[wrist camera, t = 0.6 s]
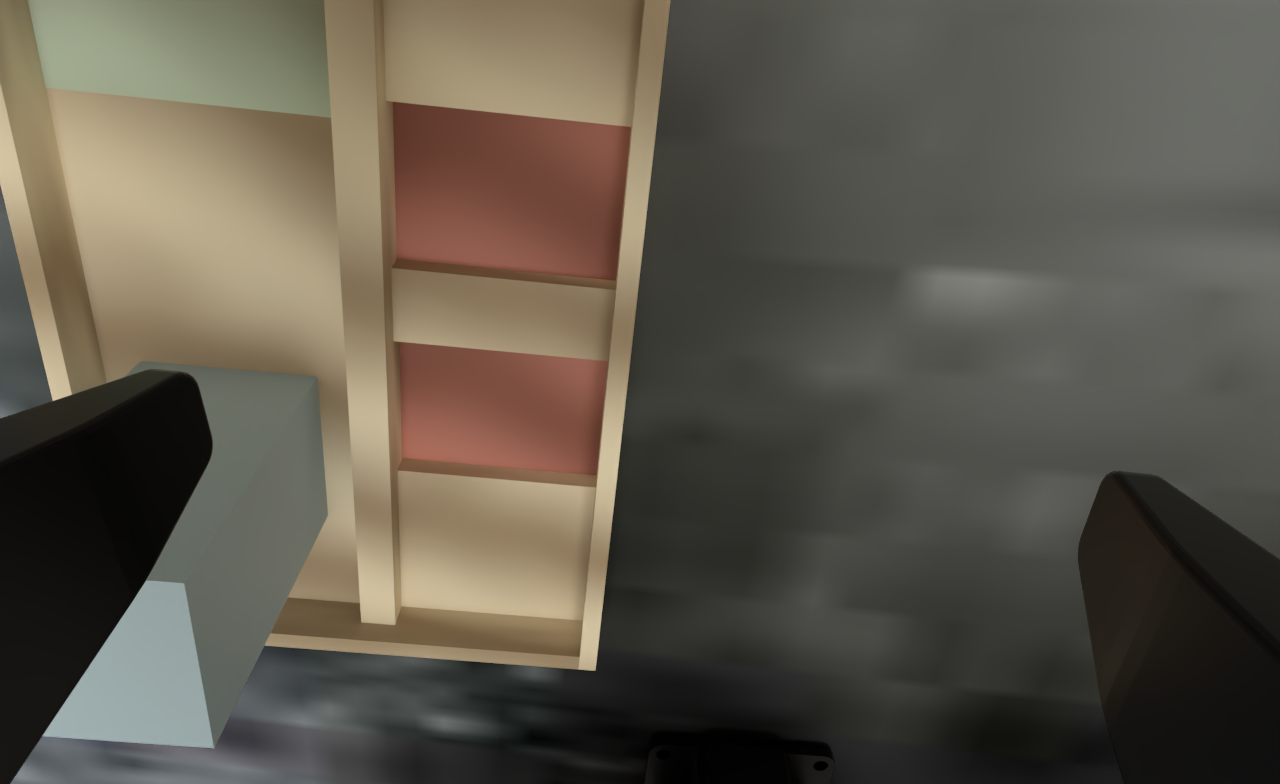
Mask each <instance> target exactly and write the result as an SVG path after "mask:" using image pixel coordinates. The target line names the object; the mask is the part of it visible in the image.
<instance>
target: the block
mask: <svg viewBox="0 0 1280 784" xmlns="http://www.w3.org/2000/svg"><path fill="white" fill-rule="evenodd" d="M147 369H163V370H173V371H182V372H187V373H189V374H190V375H192V376H193V377H194V378H195V380H196V381H197V383H198V385H199V388H200V392H201V396H202V400H203V404H204V407H205V411H206V415H207V419H208V422H209V426H210V430H211V434H212V439H213V450H212V455H211V459H210V461H209V464H208V466H207V468H206V470H205V471H204V473H203V475H202V477H201V479H200V481H199V483H198V485H197V487H196V488H195V490H194V492H193V494H192V496H191V498H190V500H189V502H188V504H187V506H186V507H185V509H184V511H183V513H182V515H181V517H180V519H179V521H178V523H177V524H176V526H175V528H174V530H173V532H172V534H171V536H170V538H169V540H168V542H167V543H166V545H165V547H164V549H163V551H162V553H161V555H160V557H159V559H158V560H157V562H156V564H155V566H154V567H153V569H152V571H151V573H150V574H149V576H148V578H147V580H146V581H145V583H144V585H143V586H142V588H141V589H140V591H139V592H138V594H137V596H136V597H135V599H134V600H133V602H132V603H131V605H130V606H129V608H128V609H127V611H126V612H125V614H124V615H123V617H122V618H121V620H120V621H119V623H118V624H117V626H116V627H115V629H114V630H113V632H112V633H111V635H110V636H109V638H108V639H107V641H106V642H105V644H104V645H103V646H102V648H101V649H100V651H99V652H98V654H97V655H96V657H95V658H94V660H93V661H92V663H91V664H90V666H89V667H88V669H87V670H86V672H85V673H84V675H83V676H82V678H81V679H80V681H79V682H78V684H77V685H76V687H75V688H74V690H73V691H72V693H71V694H70V696H69V697H68V699H67V700H66V702H65V703H64V704H63V706H62V707H61V709H60V710H59V712H58V713H57V715H56V716H55V718H54V719H53V721H52V722H51V724H50V725H49V727H48V728H47V730H46V731H45V733H44V734H43V736H48V737H62V738H77V739H91V740H105V741H119V742H133V743H148V744H162V745H176V746H190V747H204V748H214V747H215V745H216V743H217V741H218V739H219V737H220V735H221V733H222V731H223V729H224V727H225V725H226V723H227V721H228V719H229V717H230V715H231V713H232V711H233V709H234V706H235V704H236V702H237V700H238V698H239V696H240V694H241V692H242V690H243V688H244V686H245V684H246V682H247V680H248V678H249V676H250V674H251V672H252V670H253V668H254V666H255V664H256V661H257V659H258V657H259V655H260V653H261V651H262V649H263V647H264V645H265V643H266V641H267V639H268V637H269V635H270V633H271V631H272V629H273V627H274V625H275V623H276V621H277V619H278V616H279V614H280V612H281V610H282V608H283V606H284V604H285V602H286V600H287V598H288V596H289V594H290V592H291V590H292V588H293V586H294V584H295V582H296V580H297V578H298V576H299V574H300V572H301V569H302V567H303V565H304V563H305V561H306V559H307V557H308V555H309V553H310V551H311V549H312V547H313V545H314V543H315V541H316V539H317V537H318V535H319V533H320V531H321V529H322V527H323V524H324V522H325V520H326V518H327V516H328V507H327V494H326V481H325V468H324V455H323V442H322V429H321V416H320V403H319V391H318V378H317V377H314V376H303V375H292V374H281V373H270V372H259V371H248V370H237V369H226V368H215V367H204V366H193V365H182V364H171V363H160V362H149V361H140V362H139V363H138V364H137V365H136V366H135V367H134V368H133V369H132V370H131V371H130V372H129V373H128V374H127V375H126V376H129V375H132V374H135V373H138V372H141V371H144V370H147ZM126 376H125V377H126Z"/></svg>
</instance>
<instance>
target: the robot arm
mask: <svg viewBox="0 0 1280 784" xmlns="http://www.w3.org/2000/svg"><path fill="white" fill-rule="evenodd" d="M212 450H213V439H212V434H211V430H210V426H209V422H208V419H207V415H206V411H205V407H204V404H203V400H202V396H201V392H200V388H199V385H198V383H197V381H196V380H195V378H194V377H193V376H192V375H190V374H189V373H187V372H182V371H173V370H163V369H147V370H144V371H141V372H138V373H135V374H132V375H129V376H126V377H123V378H120V379H117V380H114V381H111V382H108V383H105V384H102V385H99V386H96V387H93V388H90V389H87V390H84V391H81V392H78V393H75V394H72V395H69V396H66V397H63V398H60V399H57V400H54V401H51V402H48V403H45V404H42V405H39V406H36V407H34V408H31V409H28V410H25V411H22V412H19V413H16V414H13V415H10V416H7V417H4V418H1V419H0V784H10V783H11V782H12V780H13V779H14V777H15V776H16V774H17V773H18V771H19V770H20V768H21V767H22V765H23V764H24V763H25V761H26V760H27V758H28V757H29V755H30V754H31V752H32V751H33V749H34V748H35V746H36V745H37V743H38V742H39V740H40V739H41V737H42V736H43V734H44V733H45V731H46V730H47V728H48V727H49V725H50V724H51V722H52V721H53V719H54V718H55V716H56V715H57V713H58V712H59V710H60V709H61V707H62V706H63V704H64V703H65V702H66V700H67V699H68V697H69V696H70V694H71V693H72V691H73V690H74V688H75V687H76V685H77V684H78V682H79V681H80V679H81V678H82V676H83V675H84V673H85V672H86V670H87V669H88V667H89V666H90V664H91V663H92V661H93V660H94V658H95V657H96V655H97V654H98V652H99V651H100V649H101V648H102V646H103V645H104V644H105V642H106V641H107V639H108V638H109V636H110V635H111V633H112V632H113V630H114V629H115V627H116V626H117V624H118V623H119V621H120V620H121V618H122V617H123V615H124V614H125V612H126V611H127V609H128V608H129V606H130V605H131V603H132V602H133V600H134V599H135V597H136V596H137V594H138V592H139V591H140V589H141V588H142V586H143V585H144V583H145V581H146V580H147V578H148V576H149V574H150V573H151V571H152V569H153V567H154V566H155V564H156V562H157V560H158V559H159V557H160V555H161V553H162V551H163V549H164V547H165V545H166V543H167V542H168V540H169V538H170V536H171V534H172V532H173V530H174V528H175V526H176V524H177V523H178V521H179V519H180V517H181V515H182V513H183V511H184V509H185V507H186V506H187V504H188V502H189V500H190V498H191V496H192V494H193V492H194V490H195V488H196V487H197V485H198V483H199V481H200V479H201V477H202V475H203V473H204V471H205V470H206V468H207V466H208V464H209V461H210V459H211V455H212ZM1078 564H1079V571H1080V577H1081V583H1082V589H1083V595H1084V601H1085V608H1086V614H1087V620H1088V626H1089V632H1090V638H1091V645H1092V651H1093V657H1094V663H1095V669H1096V675H1097V681H1098V687H1099V692H1100V697H1101V702H1102V708H1103V711H1104V715H1105V719H1106V723H1107V727H1108V731H1109V734H1110V738H1111V741H1112V744H1113V748H1114V751H1115V755H1116V758H1117V762H1118V765H1119V768H1120V772H1121V775H1122V779H1123V782H1124V784H1280V559H1279V558H1277V557H1276V556H1274V555H1273V554H1271V553H1270V552H1268V551H1267V550H1265V549H1264V548H1263V547H1261V546H1260V545H1258V544H1257V543H1255V542H1254V541H1252V540H1251V539H1249V538H1248V537H1247V536H1245V535H1244V534H1242V533H1241V532H1239V531H1238V530H1236V529H1235V528H1233V527H1232V526H1230V525H1229V524H1228V523H1226V522H1225V521H1223V520H1222V519H1220V518H1219V517H1217V516H1216V515H1214V514H1213V513H1212V512H1210V511H1209V510H1207V509H1206V508H1204V507H1203V506H1201V505H1200V504H1198V503H1197V502H1196V501H1194V500H1193V499H1191V498H1190V497H1188V496H1187V495H1185V494H1184V493H1182V492H1181V491H1179V490H1178V489H1177V488H1175V487H1174V486H1172V485H1171V484H1169V483H1168V482H1166V481H1165V480H1163V479H1162V478H1160V477H1159V476H1155V475H1152V474H1143V473H1133V472H1123V471H1113V472H1111V473H1109V474H1107V475H1106V476H1105V478H1104V479H1103V480H1102V482H1101V484H1100V486H1099V489H1098V492H1097V495H1096V497H1095V500H1094V503H1093V505H1092V508H1091V511H1090V514H1089V516H1088V519H1087V522H1086V524H1085V527H1084V530H1083V532H1082V535H1081V538H1080V542H1079V549H1078ZM834 768H835V761H834V757H833V753H832V751H831V750H829V749H828V748H825V747H818V746H805V745H791V744H777V743H763V742H750V741H736V740H722V739H709V738H695V737H681V736H667V735H663V736H657V737H655V738H653V739H652V740H651V742H650V744H649V749H648V755H647V762H646V768H645V774H644V780H643V784H830V781H831V778H832V775H833V771H834Z"/></svg>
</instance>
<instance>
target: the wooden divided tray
mask: <svg viewBox="0 0 1280 784" xmlns="http://www.w3.org/2000/svg"><path fill="white" fill-rule="evenodd" d="M670 2H671V0H0V185H1V189H2V193H3V197H4V201H5V205H6V210H7V214H8V218H9V222H10V226H11V230H12V234H13V238H14V243H15V247H16V251H17V255H18V259H19V263H20V267H21V271H22V276H23V280H24V284H25V288H26V292H27V296H28V300H29V305H30V309H31V313H32V317H33V321H34V325H35V329H36V333H37V338H38V342H39V346H40V350H41V354H42V358H43V362H44V366H45V371H46V375H47V379H48V383H49V387H50V391H51V395H52V399H53V401H54V400H57V399H60V398H63V397H66V396H69V395H72V394H75V393H78V392H81V391H84V390H87V389H90V388H93V387H96V386H99V385H102V384H105V383H108V382H111V381H114V380H117V379H120V378H123V377H125V376H126V375H127V374H128V373H129V372H130V371H131V370H132V369H133V368H134V367H135V366H136V365H137V364H138V363H139V362H140V361H149V362H160V363H171V364H182V365H193V366H204V367H215V368H226V369H237V370H248V371H259V372H270V373H281V374H292V375H303V376H314V377H317V378H318V391H319V403H320V416H321V429H322V442H323V455H324V468H325V481H326V494H327V507H328V516H327V518H326V520H325V522H324V524H323V527H322V529H321V531H320V533H319V535H318V537H317V539H316V541H315V543H314V545H313V547H312V549H311V551H310V553H309V555H308V557H307V559H306V561H305V563H304V565H303V567H302V569H301V572H300V574H299V576H298V578H297V580H296V582H295V584H294V586H293V588H292V590H291V592H290V594H289V596H288V598H287V600H286V602H285V604H284V606H283V608H282V610H281V612H280V614H279V616H278V619H277V621H276V623H275V625H274V627H273V629H272V631H271V633H270V635H269V637H268V639H267V641H266V643H265V645H264V646H278V647H291V648H304V649H317V650H330V651H343V652H356V653H369V654H383V655H396V656H409V657H422V658H435V659H448V660H461V661H474V662H488V663H501V664H514V665H527V666H540V667H553V668H566V669H579V670H592V671H595V670H596V661H597V652H598V643H599V634H600V625H601V616H602V608H603V599H604V590H605V581H606V572H607V563H608V554H609V545H610V536H611V527H612V518H613V510H614V501H615V492H616V483H617V474H618V465H619V456H620V447H621V438H622V429H623V420H624V411H625V403H626V394H627V385H628V376H629V367H630V358H631V349H632V340H633V331H634V322H635V313H636V305H637V296H638V287H639V278H640V269H641V260H642V251H643V242H644V233H645V224H646V215H647V207H648V198H649V189H650V180H651V171H652V162H653V153H654V144H655V135H656V126H657V117H658V109H659V100H660V91H661V82H662V73H663V64H664V55H665V46H666V37H667V28H668V19H669V11H670Z"/></svg>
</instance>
